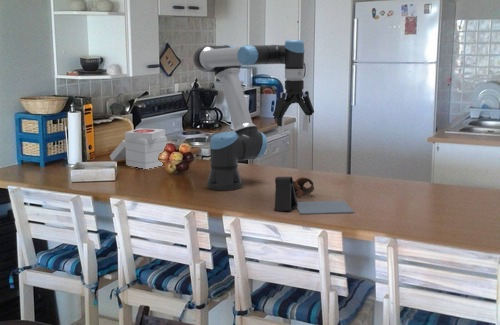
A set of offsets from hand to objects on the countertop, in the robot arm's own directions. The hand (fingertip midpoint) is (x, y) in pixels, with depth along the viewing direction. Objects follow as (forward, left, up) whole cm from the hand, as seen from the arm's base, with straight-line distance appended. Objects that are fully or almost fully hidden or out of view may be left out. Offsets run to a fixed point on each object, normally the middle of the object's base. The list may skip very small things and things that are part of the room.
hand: (293, 132), depth 252 cm
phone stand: (-6, -21, -26) cm, 34 cm away
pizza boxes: (-70, +72, -26) cm, 104 cm away
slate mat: (+8, -21, -26) cm, 34 cm away
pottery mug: (+3, 0, -26) cm, 26 cm away
